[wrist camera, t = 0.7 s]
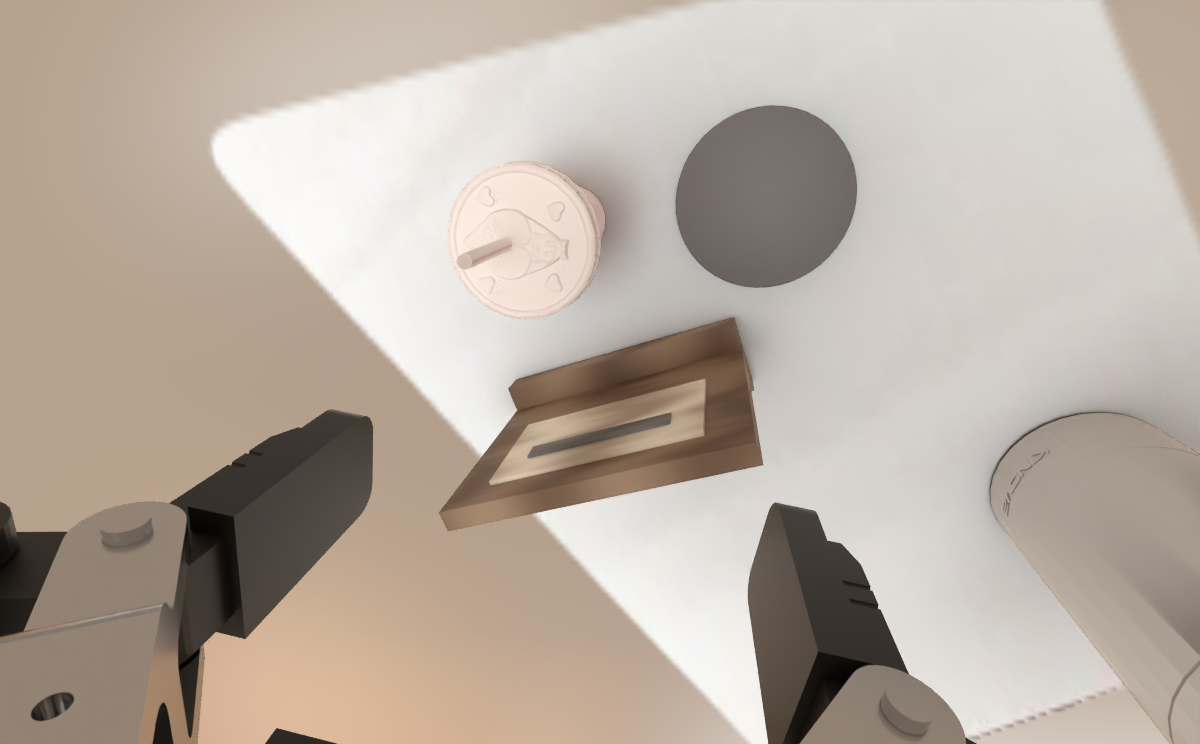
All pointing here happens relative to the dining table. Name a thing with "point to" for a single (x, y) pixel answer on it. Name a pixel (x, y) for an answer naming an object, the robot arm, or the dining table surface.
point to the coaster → (766, 196)
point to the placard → (617, 428)
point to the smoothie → (525, 239)
